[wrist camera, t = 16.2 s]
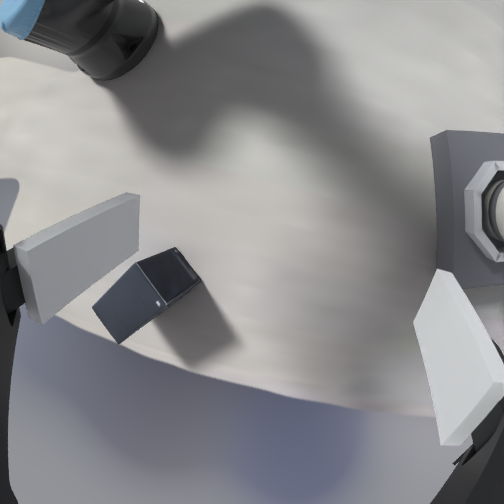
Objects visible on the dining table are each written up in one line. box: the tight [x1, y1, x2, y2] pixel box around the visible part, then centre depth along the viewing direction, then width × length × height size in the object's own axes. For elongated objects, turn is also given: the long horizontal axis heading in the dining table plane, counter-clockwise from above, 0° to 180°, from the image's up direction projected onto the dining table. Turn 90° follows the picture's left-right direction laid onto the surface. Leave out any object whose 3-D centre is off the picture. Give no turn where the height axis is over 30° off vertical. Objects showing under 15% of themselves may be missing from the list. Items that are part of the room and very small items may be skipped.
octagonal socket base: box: [430, 130, 504, 289], centre depth 30 cm, size 18×14×8 cm
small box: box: [92, 247, 201, 344], centre depth 41 cm, size 11×6×10 cm, turn 129°
